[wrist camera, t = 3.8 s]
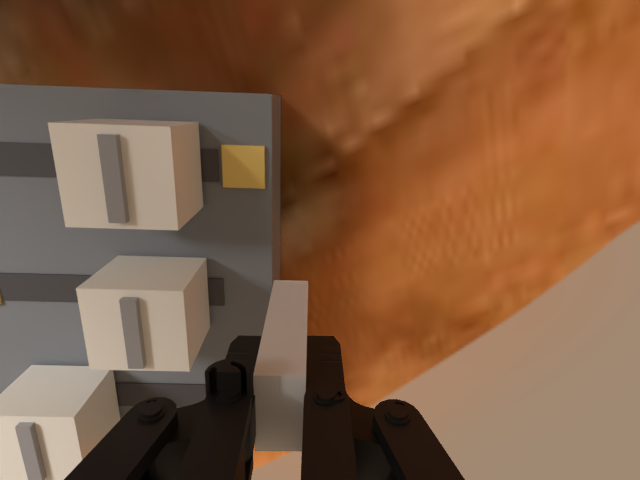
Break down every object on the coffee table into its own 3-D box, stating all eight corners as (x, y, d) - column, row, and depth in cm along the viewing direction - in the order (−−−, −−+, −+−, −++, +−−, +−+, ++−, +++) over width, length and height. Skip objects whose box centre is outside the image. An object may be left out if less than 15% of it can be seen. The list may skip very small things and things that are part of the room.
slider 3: (127, 324, 20) (85, 374, 16) (118, 255, 19) (71, 291, 15) (210, 326, 20) (187, 376, 16) (206, 257, 19) (180, 294, 15)
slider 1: (44, 422, 22) (-10, 486, 18) (31, 364, 20) (-29, 420, 17) (121, 424, 22) (83, 488, 18) (112, 366, 21) (69, 422, 17)
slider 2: (111, 204, 18) (60, 229, 14) (100, 118, 17) (41, 122, 13) (203, 206, 18) (175, 232, 14) (198, 121, 17) (167, 127, 13)
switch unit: (50, 377, 27) (-9, 439, 22) (-11, 84, 21) (-109, 79, 16) (279, 382, 27) (272, 444, 22) (280, 95, 21) (271, 93, 17)
